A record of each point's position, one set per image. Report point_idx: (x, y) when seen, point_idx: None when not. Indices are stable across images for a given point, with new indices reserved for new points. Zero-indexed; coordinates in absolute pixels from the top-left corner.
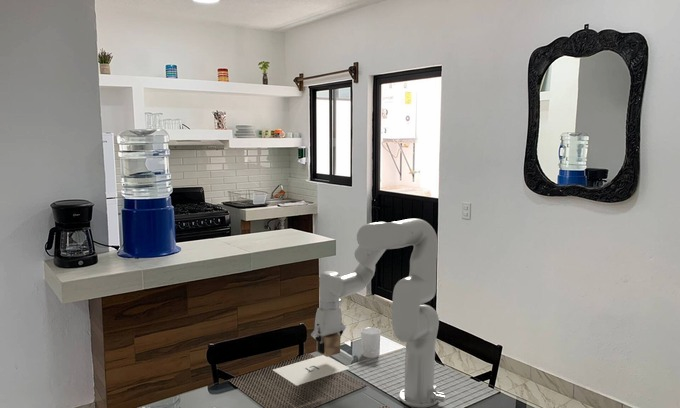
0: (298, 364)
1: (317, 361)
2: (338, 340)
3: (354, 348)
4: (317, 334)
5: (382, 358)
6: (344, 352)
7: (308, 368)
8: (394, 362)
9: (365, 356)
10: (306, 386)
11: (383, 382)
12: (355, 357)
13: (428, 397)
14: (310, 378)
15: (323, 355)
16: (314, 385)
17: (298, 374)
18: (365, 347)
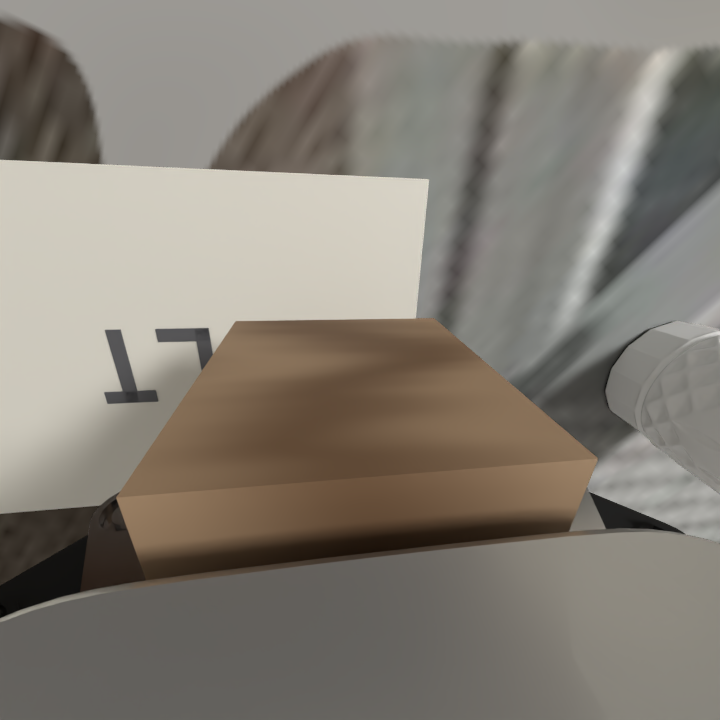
0: (76, 217)
1: (282, 272)
2: None
3: (707, 215)
4: (136, 506)
5: (642, 446)
6: (595, 231)
7: (137, 345)
8: (628, 505)
9: (608, 389)
10: (27, 522)
11: None
12: (564, 354)
13: None
14: (81, 480)
15: (408, 193)
16: (86, 530)
17: (6, 391)
18: (667, 428)
